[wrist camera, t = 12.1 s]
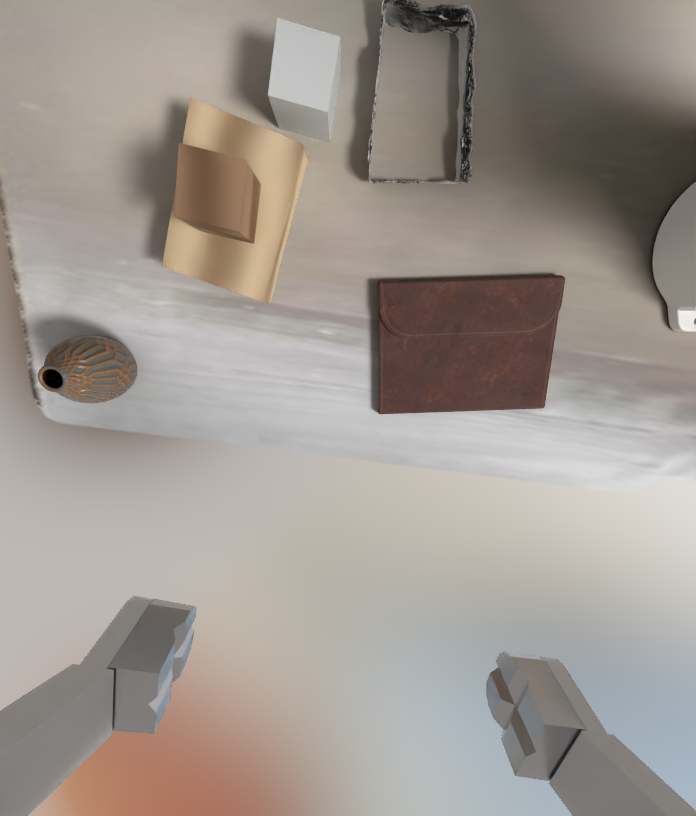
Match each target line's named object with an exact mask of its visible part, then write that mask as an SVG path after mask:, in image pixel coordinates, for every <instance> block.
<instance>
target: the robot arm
mask: <svg viewBox="0 0 696 816" xmlns="http://www.w3.org/2000/svg"><path fill="white" fill-rule="evenodd" d="M653 274H654V279H655V282H656V285H657V287H658V289H659V291H660V293H661V294H662V296H663V298H664V299H665V301H666V303H667V306H668V317H669V324H670V327H671V329H672V330H674V331H677V332H696V182H695V183H693V184H692V185H691V186H690V187H689V188H688V189H687V190H685V191H684V192H683V194H682V195H681V196H680V197H679V198H678V199H677V200H676V202H675V203H674V204H673V206H672V207H671V208H670V210H669V211H668V213H667V215H666V216H665V218H664V220H663V222H662V224H661V227H660V229H659V231H658V234H657V237H656V241H655V245H654V250H653ZM694 320H695V321H694ZM195 617H196V607H195V606H190V605H185V604H179V603H173V602H168V601H163V600H157V599H150V598H145V597H138V596H133V597H132V598H131V599H130V600H128V601H127V602H126V603H125V605H124V606H123V607H122V609H121V610H120V611H119V613H118V614H117V615H116V617H115V618H114V620H113V621H112V622H111V623H110V625H109V626H108V628H107V629H106V630H105V632H104V633H103V634H102V636H101V637H100V638H99V640H98V641H97V642H96V644H95V645H94V647H93V648H92V649H91V650H90V652H89V653H88V654H87V656H86V657H85V658H84V660H83V661H82V663H81V664H80V665H76V664H72V665H70V666H69V667H67V668H66V669H64V670H63V671H61V672H60V673H58V674H56V675H55V676H53V677H52V678H50V679H49V680H47V681H46V682H44V683H43V684H41V685H40V686H38V687H36V688H35V689H33V690H32V691H30V692H29V693H27V694H25V695H24V696H22V697H21V698H19V699H18V700H16V701H15V702H13V703H12V704H10V705H9V706H7V707H5V708H4V709H2V710H1V711H0V816H28V815H29V814H30V813H31V812H32V811H33V810H34V809H35V808H36V807H37V806H38V805H39V804H40V803H41V802H42V801H43V800H44V799H45V798H46V797H47V796H49V795H50V793H52V792H53V791H54V790H55V789H56V788H57V787H58V786H59V785H60V784H61V783H62V782H63V781H64V780H65V779H66V778H67V777H68V776H69V775H70V774H71V773H72V772H73V771H74V770H75V769H76V768H77V767H78V766H79V765H80V764H81V763H83V762H84V761H85V760H86V759H87V758H88V757H89V756H90V755H91V754H92V753H93V752H94V751H95V750H96V749H97V748H98V747H99V746H100V745H101V744H102V743H103V742H104V741H105V740H106V739H107V738H108V737H109V736H110V735H112V731H124V732H136V733H149V734H154V733H155V731H156V729H157V727H158V724H159V722H160V720H161V718H162V716H163V713H164V711H165V709H166V707H167V704H168V702H169V700H170V696H171V687H172V683H173V682H174V681H175V680H176V679H177V678H179V677H180V675H181V673H182V670H183V668H184V666H185V663H186V661H187V658H188V655H189V652H190V649H191V645H192V640H193V635H194V630H193V628H192V627H191V626H192V624H193V621H194V619H195ZM496 662H497V665H498V668H497V669H495V670H494V671H492V672H491V673H490V675H489V678H488V680H487V690H486V692H487V693H486V695H487V699H488V704H489V707H490V710H491V713H492V716H493V718H494V719H495V720H496V721H497V723H498V724H499V725H500V726H501V727H502V728H503V732H502V742H503V745H504V747H505V750H506V753H507V755H508V758H509V761H510V763H511V766H512V768H513V771H514V774H515V776H521V777H527V778H533V779H540V780H547V781H550V783H549V784H550V785H551V787H552V788H553V790H554V791H555V792H556V794H557V795H558V796H559V798H560V799H561V800H562V802H563V803H564V804H565V806H566V807H567V808H568V810H569V811H570V812H571V814H572V815H573V816H696V811H695V810H694V809H693V808H692V807H691V806H690V805H689V804H688V803H687V802H686V801H685V800H684V799H682V798H681V797H680V796H679V795H678V794H677V793H676V792H675V791H674V790H673V789H672V788H670V787H669V786H668V785H667V784H666V783H665V782H664V781H663V780H662V779H661V778H660V777H659V776H657V775H656V774H655V773H654V772H653V771H652V770H651V769H650V768H649V767H648V766H647V765H646V764H644V763H643V762H642V761H641V760H640V759H639V758H638V757H637V756H636V755H635V754H634V753H633V752H631V751H630V750H629V749H628V748H627V747H626V746H625V745H624V744H623V743H622V742H620V740H618V739H617V738H616V737H615V736H614V735H612V734H607V732H606V731H605V729H604V728H603V726H602V724H601V723H600V721H599V720H598V718H597V717H596V715H595V713H594V712H593V710H592V709H591V707H590V706H589V704H588V702H587V701H586V699H585V698H584V696H583V695H582V693H581V691H580V690H579V688H578V687H577V686H576V684H575V682H574V680H573V679H572V677H571V676H570V674H569V673H568V671H567V670H566V668H565V666H564V665H563V664H562V663H561V662H560V661H559V660H558V659H552V658H545V657H538V656H535V655H527V654H519V653H512V652H502V653H500V654H499V656H498V658H497V660H496Z"/></svg>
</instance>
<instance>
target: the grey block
mask: <svg viewBox="0 0 696 816" xmlns="http://www.w3.org/2000/svg"><path fill="white" fill-rule="evenodd" d="M340 81H341V47H340V36H336V35H333V34H330V33H326V32H323V31H320V30H316V29H313V28H310V27H306V26H303V25H300V24H296V23H293V22H290V21H287V20H283V19H280V18H277V25H276V33H275V41H274V49H273V57H272V65H271V73H270V81H269V89H268V97H269V100H270V103H271V106H272V109H273V112H274V115H275V118H276V121H277V124H278V127H279V129H283V130H286V131H290V132H294V133H297V134H301V135H305V136H308V137H312V138H316V139H319V140H323V141H327V142H330V138H331V133H332V127H333V121H334V115H335V110H336V104H337V98H338V92H339V86H340Z"/></svg>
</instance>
